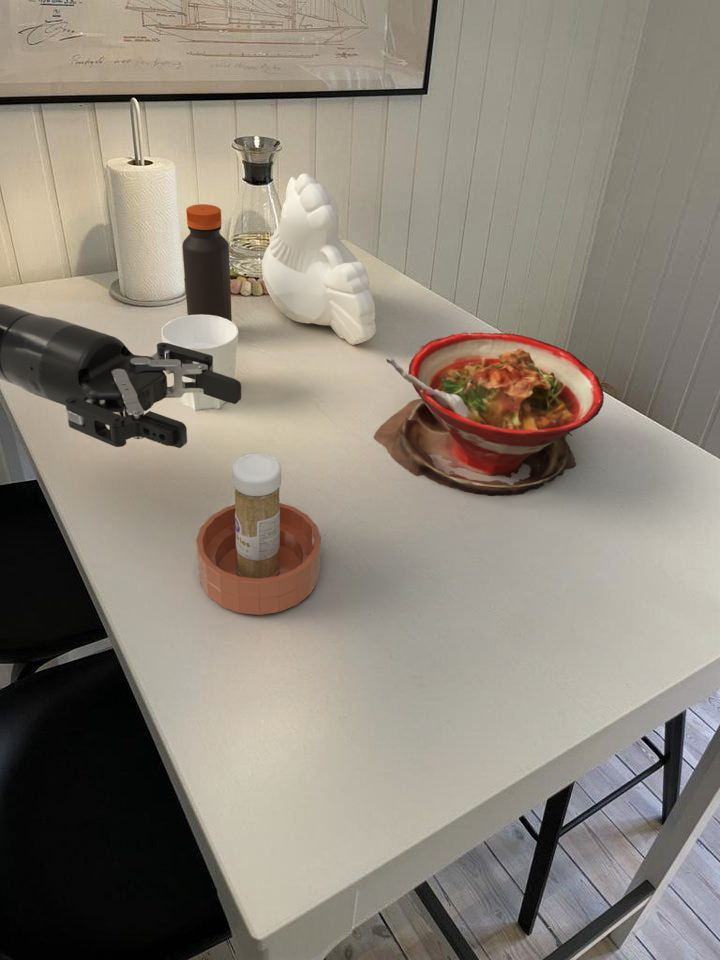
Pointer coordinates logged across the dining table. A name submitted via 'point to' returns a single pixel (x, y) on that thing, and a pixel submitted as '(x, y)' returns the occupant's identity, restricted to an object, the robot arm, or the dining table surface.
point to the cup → (204, 350)
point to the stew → (491, 410)
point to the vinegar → (206, 263)
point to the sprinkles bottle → (257, 515)
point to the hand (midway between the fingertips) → (213, 413)
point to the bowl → (259, 593)
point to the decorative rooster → (317, 266)
